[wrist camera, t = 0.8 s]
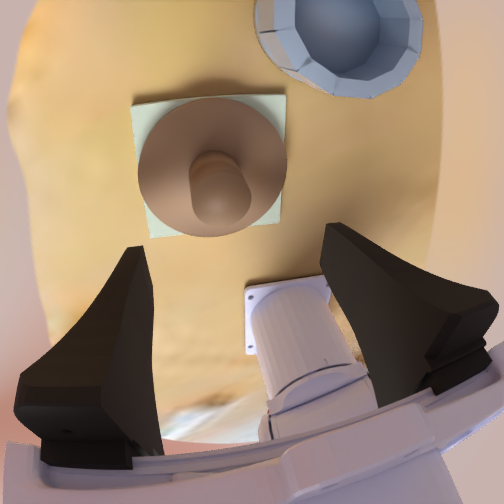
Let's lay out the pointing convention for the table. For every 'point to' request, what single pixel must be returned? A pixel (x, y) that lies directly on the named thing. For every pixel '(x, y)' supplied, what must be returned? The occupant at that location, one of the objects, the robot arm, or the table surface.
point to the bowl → (341, 42)
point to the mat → (153, 112)
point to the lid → (212, 167)
